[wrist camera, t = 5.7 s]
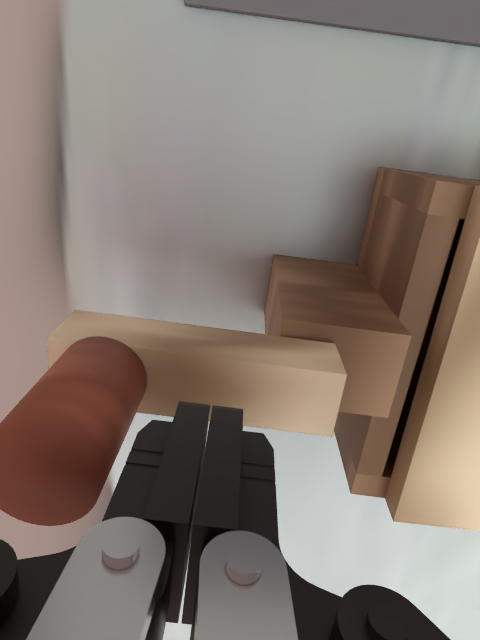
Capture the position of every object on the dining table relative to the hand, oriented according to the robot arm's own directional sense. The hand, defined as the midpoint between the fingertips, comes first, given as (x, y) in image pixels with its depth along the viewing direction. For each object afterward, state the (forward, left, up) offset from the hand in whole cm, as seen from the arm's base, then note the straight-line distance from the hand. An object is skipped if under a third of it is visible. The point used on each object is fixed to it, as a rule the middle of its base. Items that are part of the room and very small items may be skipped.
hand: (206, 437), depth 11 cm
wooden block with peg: (0, 0, -4) cm, 4 cm away
